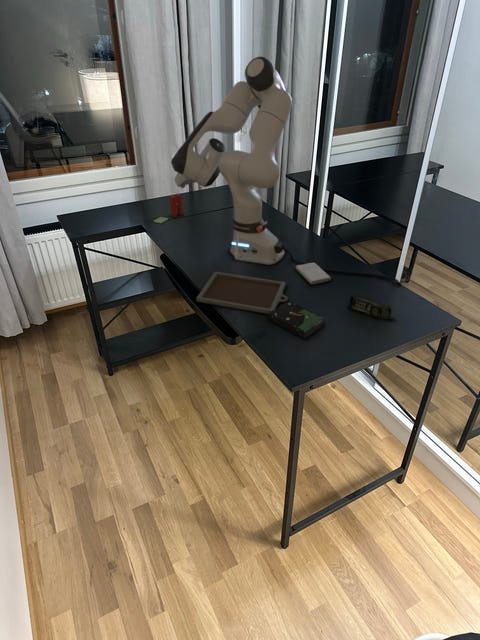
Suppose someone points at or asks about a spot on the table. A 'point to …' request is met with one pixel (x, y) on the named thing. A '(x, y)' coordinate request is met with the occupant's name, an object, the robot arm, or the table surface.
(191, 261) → the table surface
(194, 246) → the table surface
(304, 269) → the hard drive
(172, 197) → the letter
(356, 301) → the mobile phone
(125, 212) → the table surface
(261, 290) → the brown grey flat panel
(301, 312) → the disk drive
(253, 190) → the robot arm
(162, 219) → the tile
